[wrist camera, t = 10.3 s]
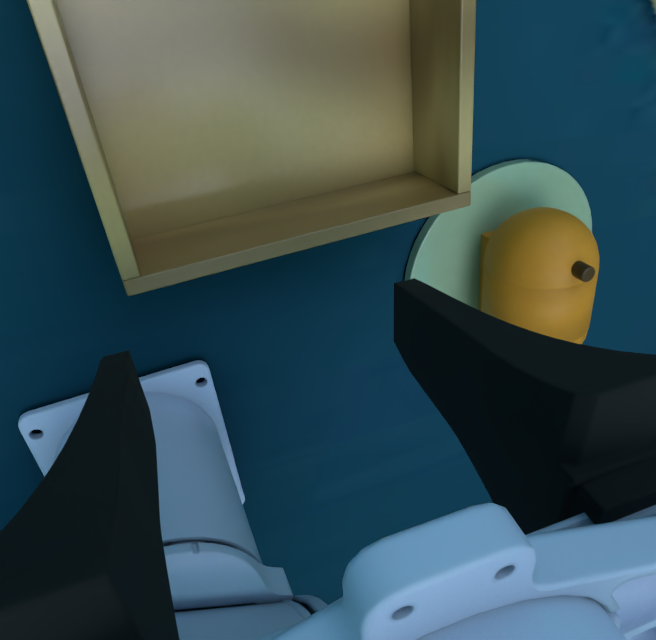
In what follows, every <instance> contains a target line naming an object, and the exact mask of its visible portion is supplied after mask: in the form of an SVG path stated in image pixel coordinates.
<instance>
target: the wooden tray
mask: <svg viewBox="0 0 656 640" xmlns="http://www.w3.org/2000/svg"><path fill="white" fill-rule="evenodd" d="M27 3H28V6H29V9H30V12H31V15H32V18H33V21H34V24H35V27H36V29H37V32H38V35H39V38H40V41H41V44H42V47H43V50H44V53H45V56H46V59H47V62H48V65H49V68H50V70H51V73H52V76H53V79H54V82H55V85H56V88H57V91H58V94H59V97H60V100H61V103H62V106H63V109H64V112H65V114H66V117H67V120H68V123H69V126H70V129H71V132H72V135H73V138H74V141H75V144H76V147H77V150H78V153H79V156H80V158H81V161H82V164H83V167H84V170H85V173H86V176H87V179H88V182H89V185H90V188H91V191H92V194H93V197H94V200H95V202H96V205H97V208H98V211H99V214H100V217H101V220H102V223H103V226H104V229H105V232H106V235H107V238H108V241H109V244H110V246H111V249H112V252H113V255H114V258H115V261H116V264H117V267H118V270H119V273H120V276H121V279H122V281H123V285H124V287H125V290H126V293H127V295H128V296H132V295H136V294H140V293H144V292H147V291H151V290H155V289H159V288H162V287H166V286H170V285H174V284H177V283H181V282H185V281H189V280H192V279H196V278H200V277H204V276H207V275H211V274H215V273H219V272H222V271H226V270H230V269H234V268H237V267H241V266H245V265H249V264H253V263H256V262H260V261H264V260H268V259H271V258H275V257H279V256H283V255H286V254H290V253H294V252H298V251H301V250H305V249H309V248H313V247H316V246H320V245H324V244H328V243H331V242H335V241H339V240H343V239H346V238H350V237H354V236H358V235H361V234H365V233H369V232H373V231H377V230H380V229H384V228H388V227H392V226H395V225H399V224H403V223H407V222H410V221H414V220H418V219H422V218H425V217H429V216H433V215H437V214H440V213H444V212H448V211H452V210H455V209H459V208H463V207H467V206H470V205H471V192H470V190H471V169H472V133H473V97H474V61H475V25H476V0H27Z"/></svg>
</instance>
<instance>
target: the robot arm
mask: <svg viewBox="0 0 656 640" xmlns="http://www.w3.org/2000/svg"><path fill="white" fill-rule="evenodd" d="M394 342H395V344H396V346H397V348H398V350H399V352H400V354H401V356H402V358H403V360H404V362H405V363H406V365H407V367H408V369H409V370H410V372H411V373H412V375H413V376H414V377H415V379H416V380H417V382H418V383H419V384H420V386H421V387H422V389H423V390H424V391H425V393H426V394H427V395H428V397H429V398H430V399H431V401H432V402H433V403H434V405H435V406H436V408H437V409H438V410H439V412H440V413H441V414H442V416H443V417H444V418H445V420H446V421H447V423H448V424H449V425H450V427H451V428H452V430H453V431H454V433H455V434H456V436H457V437H458V439H459V441H460V442H461V444H462V446H463V448H464V449H465V451H466V453H467V455H468V456H469V458H470V460H471V462H472V463H473V465H474V467H475V469H476V471H477V473H478V475H479V476H480V478H481V480H482V482H483V484H484V486H485V488H486V489H487V491H488V493H489V495H490V497H491V499H492V501H493V503H485V504H479V505H474V506H470V507H467V508H464V509H462V510H459V511H456V512H453V513H451V514H448V515H445V516H442V517H440V518H437V519H434V520H431V521H428V522H426V523H423V524H420V525H417V526H415V527H412V528H409V529H406V530H404V531H401V532H398V533H395V534H392V535H390V536H387V537H384V538H382V539H380V540H378V541H376V542H374V543H372V544H370V545H368V546H366V547H365V548H363V549H362V550H361V551H360V552H359V553H358V554H357V555H356V556H355V557H354V558H353V559H352V560H351V561H350V562H349V563H348V565H347V567H346V570H345V573H344V576H343V580H342V584H343V597H341V598H340V599H338V600H336V601H334V602H333V603H331V604H329V605H327V604H326V603H325V602H324V601H322V600H321V599H320V598H317V597H315V596H312V595H298V596H293V594H292V591H291V588H290V586H289V583H288V580H287V577H286V575H285V572H284V569H283V568H280V567H268V566H265V565H262V562H261V559H260V556H259V553H258V550H257V547H256V544H255V541H254V538H253V535H252V532H251V529H250V526H249V523H248V520H247V517H246V514H245V511H244V508H243V505H242V504H243V503H244V501H245V497H244V493H243V490H242V486H241V483H240V479H239V475H238V472H237V468H236V464H235V461H234V457H233V453H232V450H231V446H230V442H229V439H228V435H227V431H226V428H225V424H224V420H223V417H222V413H221V409H220V406H219V402H218V399H217V395H216V391H215V388H214V384H213V380H212V377H211V373H210V369H209V367H208V365H207V363H206V362H204V361H201V360H196V361H192V362H189V363H186V364H182V365H179V366H176V367H172V368H169V369H166V370H162V371H159V372H156V373H153V374H149V375H146V376H143V377H139V378H138V375H137V372H136V369H135V366H134V364H133V361H132V358H131V355H130V352H129V351H125V352H121V353H117V354H113V355H109V356H105V357H103V359H102V360H101V361H100V364H99V368H98V371H97V374H96V377H95V379H94V382H93V385H92V387H91V390H90V392H89V393H87V394H83V395H80V396H77V397H73V398H70V399H67V400H64V401H60V402H57V403H54V404H50V405H47V406H44V407H41V408H37V409H34V410H31V411H27V412H25V413H23V414H22V415H21V416H20V418H19V421H18V427H19V430H20V432H21V434H22V436H23V437H24V439H25V441H26V443H27V445H28V447H29V449H30V451H31V452H32V454H33V456H34V458H35V460H36V462H37V464H38V465H39V467H40V469H41V471H42V473H43V475H44V478H43V480H42V481H41V483H40V484H39V485H38V487H37V488H36V489H35V491H34V492H33V494H32V495H31V496H30V498H29V499H28V500H27V502H26V503H25V504H24V505H23V507H22V508H21V509H20V510H19V512H18V513H17V514H16V515H15V516H14V517H13V519H12V520H11V521H10V522H9V523H8V524H7V525H6V527H5V528H4V529H3V530H2V531H1V532H0V640H656V355H650V354H641V353H632V352H623V351H615V350H609V349H603V348H597V347H591V346H587V345H582V344H577V343H573V342H569V341H565V340H561V339H557V338H553V337H549V336H546V335H542V334H539V333H536V332H533V331H530V330H527V329H524V328H521V327H518V326H516V325H513V324H510V323H508V322H505V321H503V320H500V319H498V318H496V317H493V316H491V315H489V314H486V313H484V312H482V311H480V310H477V309H475V308H473V307H471V306H469V305H467V304H465V303H463V302H461V301H459V300H457V299H455V298H453V297H451V296H449V295H447V294H445V293H443V292H441V291H439V290H437V289H435V288H433V287H432V286H430V285H428V284H426V283H424V282H421V281H419V280H417V279H415V278H413V279H409V280H405V281H401V282H398V283H394ZM199 378H205V380H204V381H203V382H200V383H197V382H196V381H197V379H199ZM36 429H38V430H41V431H42V432H41V433H37V434H35V433H32V432H31V431H33V430H36Z"/></svg>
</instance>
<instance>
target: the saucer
mask: <svg viewBox="0 0 656 640" xmlns="http://www.w3.org/2000/svg"><path fill="white" fill-rule="evenodd" d="M470 192H471V205H470V206H467V207H463V208H459V209H455V210H452V211H448V212H444V213H440V214H437V215H433V216H429V218H428V219H427V221H426V222H425V224H424V225H423V227H422V229H421V231H420V233H419V235H418V237H417V238H416V240H415V243H414V245H413V248H412V250H411V253H410V256H409V260H408V263H407V267H406V272H405V279H404V281H405V280H409V279H413V278H415V279H417V280H419V281H421V282H424V283H426V284H428V285H430V286H432V287H433V288H435V289H437V290H439V291H441V292H443V293H445V294H447V295H449V296H451V297H453V298H455V299H457V300H459V301H461V302H463V303H465V304H467V305H469V306H471V307H473V308H475V309H477V310H478V306H479V281H480V255H481V234H483V233H487V232H490V231H494V230H496V229H497V227H499V226H500V225H501V224H502V223H503V222H504V221H505V220H506V219H508V218H509V217H511V216H513V215H514V214H516V213H518V212H521V211H524V210H527V209H531V208H536V207H551V208H556V209H560V210H563V211H566V212H568V213H570V214H572V215H574V216H575V217H577V218H578V219H580V220H581V221H582V222H583V223H584V224H585V225H586V226H587V227H588V229H589V230H590V231H591V233H592V218H591V212H590V207H589V204H588V201H587V198H586V196H585V194H584V192H583V190H582V188H581V187H580V186H579V184H578V183H577V182H576V180H575V179H574V178H573V177H572V176H570V175H569V174H568V173H567V172H565V171H564V170H562V169H560V168H559V167H556V166H553V165H551V164H548V163H545V162H542V161H537V160H531V159H520V160H512V161H506V162H502V163H499V164H496V165H493V166H490V167H488V168H486V169H484V170H482V171H480V172H478V173H476V174H474V175H473V176H471V190H470Z"/></svg>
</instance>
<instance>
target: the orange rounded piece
mask: <svg viewBox="0 0 656 640" xmlns="http://www.w3.org/2000/svg"><path fill="white" fill-rule="evenodd" d="M598 271H599V252H598V247H597V243H596V241H595V238H594V236H593V234H592V233H591V231H590V230H589V229H588V227H587V226H586V225H585V224H584V223H583V222H582V221H581V220H580V219H578V218H577V217H575V216H574V215H572V214H570V213H568V212H566V211H563V210H560V209H556V208H551V207H536V208H531V209H527V210H524V211H521V212H518V213H516V214H514V215H513V216H511V217H509V218H508V219H506V220H505V221H504V222H503V223H502V224H501V225H500V226H499V227H497V229H496V230H494V231H490V232H487V233H483V234H481V255H480V281H479V306H478V310H480V311H482V312H484V313H486V314H489V315H491V316H493V317H496V318H498V319H500V320H503V321H505V322H508V323H510V324H513V325H516V326H518V327H521V328H524V329H527V330H530V331H533V332H536V333H539V334H542V335H546V336H549V337H553V338H557V339H561V340H565V341H569V342H573V343H577V344H582V343H583V341H584V340H585V338H586V335H587V331H588V328H589V325H590V319H591V313H592V307H593V301H594V295H595V289H596V283H597V277H598Z"/></svg>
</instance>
